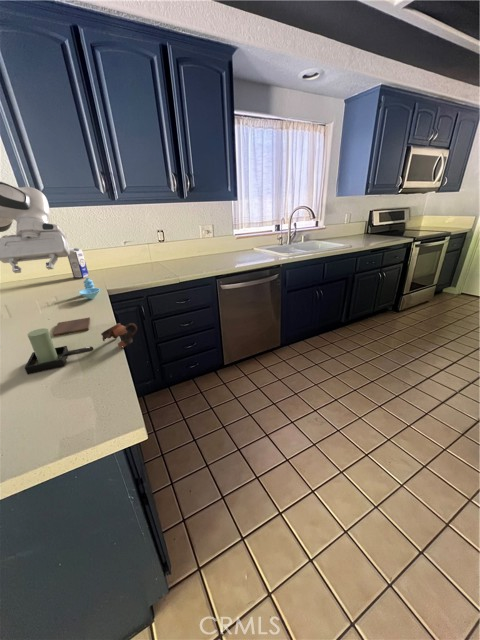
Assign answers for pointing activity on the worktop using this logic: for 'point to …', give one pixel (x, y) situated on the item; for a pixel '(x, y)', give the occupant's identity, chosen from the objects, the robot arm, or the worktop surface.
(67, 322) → the board
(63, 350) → the pan
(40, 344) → the pale green cylinder
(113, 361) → the worktop surface
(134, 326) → the brown irregular piece
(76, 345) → the worktop surface
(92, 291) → the blue conch shell
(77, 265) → the milk carton
